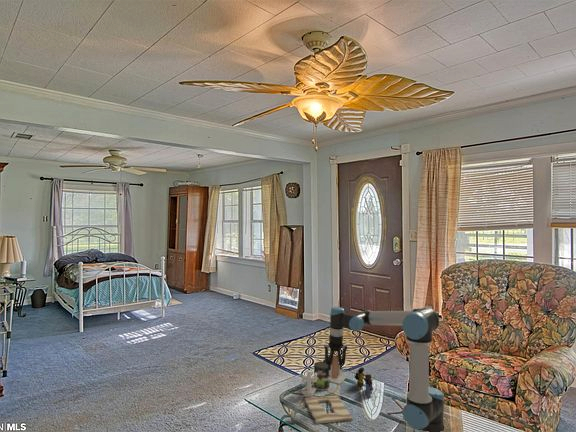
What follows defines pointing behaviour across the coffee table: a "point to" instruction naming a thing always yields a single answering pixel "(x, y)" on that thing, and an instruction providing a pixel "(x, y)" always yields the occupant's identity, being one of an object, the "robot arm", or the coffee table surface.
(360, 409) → the coffee table surface
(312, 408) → the keyhole board
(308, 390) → the figurine
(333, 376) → the peg
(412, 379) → the robot arm
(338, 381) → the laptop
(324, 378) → the green brown figure
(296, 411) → the coffee table surface
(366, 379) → the doll family
